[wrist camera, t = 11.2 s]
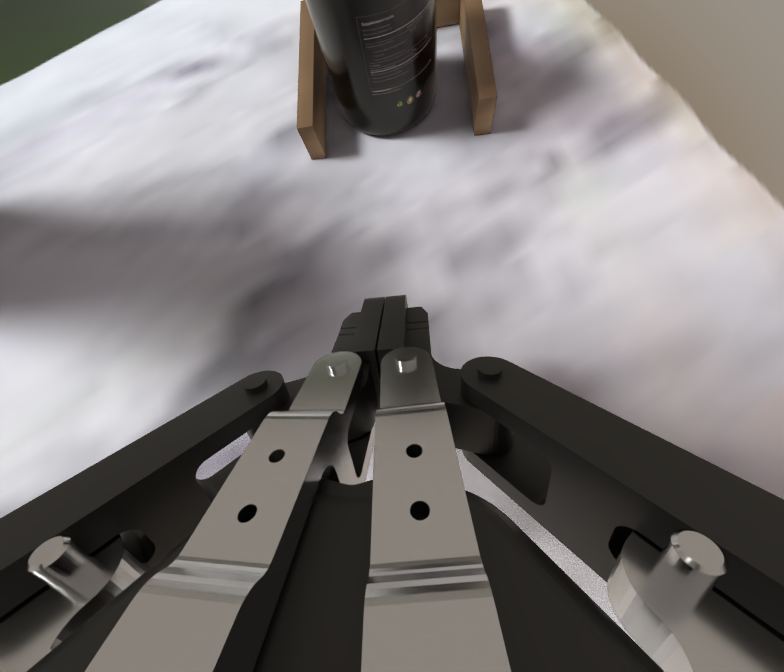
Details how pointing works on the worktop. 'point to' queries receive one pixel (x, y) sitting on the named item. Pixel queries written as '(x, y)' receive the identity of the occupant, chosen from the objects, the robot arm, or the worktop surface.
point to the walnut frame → (454, 6)
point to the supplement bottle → (379, 59)
